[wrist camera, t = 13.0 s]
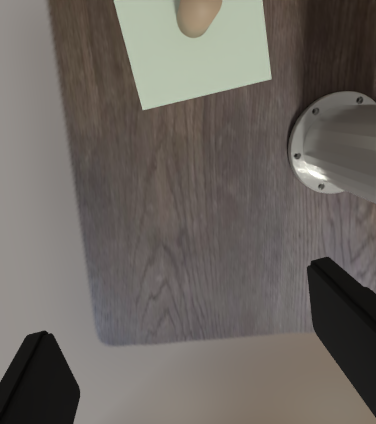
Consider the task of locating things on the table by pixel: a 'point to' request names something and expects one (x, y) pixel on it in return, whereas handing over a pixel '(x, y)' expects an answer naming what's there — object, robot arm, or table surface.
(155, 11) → the lid
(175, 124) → the table surface
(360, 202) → the table surface
